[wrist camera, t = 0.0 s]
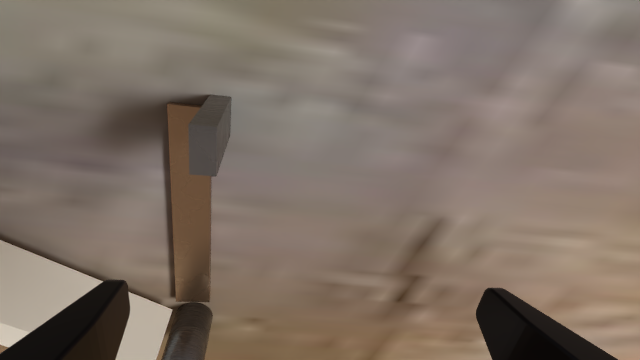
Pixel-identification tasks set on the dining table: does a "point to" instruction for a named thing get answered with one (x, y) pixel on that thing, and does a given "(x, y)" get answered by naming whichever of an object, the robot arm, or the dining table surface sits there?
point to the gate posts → (193, 216)
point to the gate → (66, 302)
